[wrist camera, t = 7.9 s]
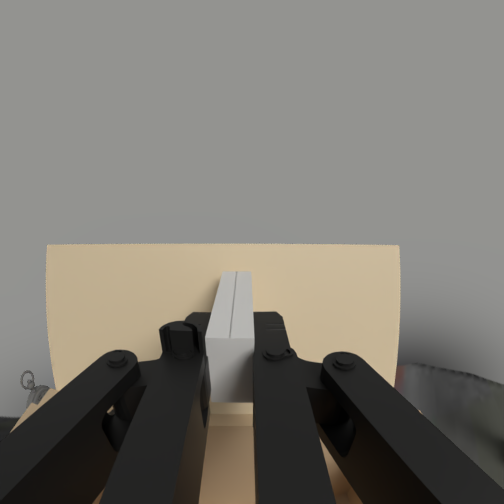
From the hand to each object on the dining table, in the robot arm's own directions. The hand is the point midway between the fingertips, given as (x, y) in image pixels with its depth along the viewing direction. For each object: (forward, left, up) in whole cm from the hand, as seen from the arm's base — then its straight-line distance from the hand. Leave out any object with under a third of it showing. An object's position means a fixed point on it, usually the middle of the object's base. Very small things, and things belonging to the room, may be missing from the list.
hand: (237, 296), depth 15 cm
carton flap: (-1, -1, -2) cm, 3 cm away
